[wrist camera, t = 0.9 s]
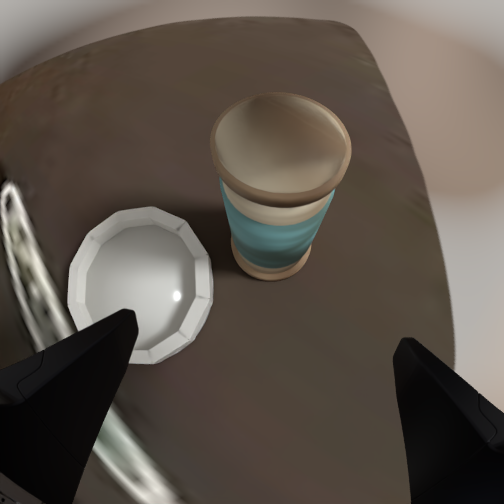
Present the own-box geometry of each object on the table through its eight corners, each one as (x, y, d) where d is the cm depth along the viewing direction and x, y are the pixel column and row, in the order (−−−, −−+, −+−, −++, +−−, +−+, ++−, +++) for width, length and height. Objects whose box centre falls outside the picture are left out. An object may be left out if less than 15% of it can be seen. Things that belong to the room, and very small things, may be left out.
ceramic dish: (120, 387, 20) (108, 390, 18) (65, 268, 24) (52, 261, 21) (244, 309, 22) (242, 305, 20) (168, 194, 26) (161, 181, 23)
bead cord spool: (261, 297, 22) (264, 235, 10) (216, 234, 24) (179, 127, 12) (325, 252, 23) (384, 157, 11) (279, 195, 25) (291, 76, 13)
